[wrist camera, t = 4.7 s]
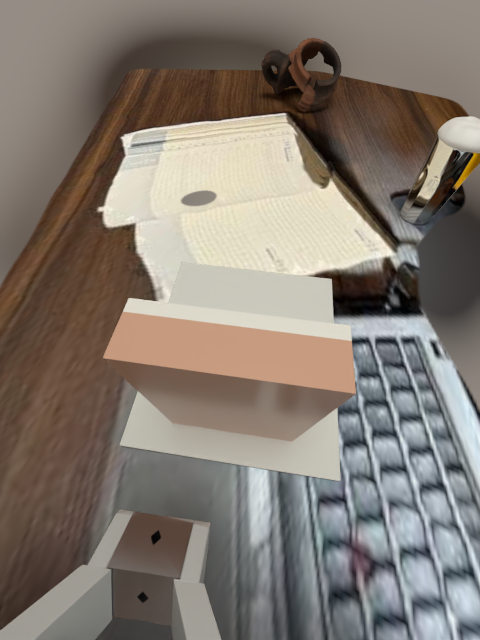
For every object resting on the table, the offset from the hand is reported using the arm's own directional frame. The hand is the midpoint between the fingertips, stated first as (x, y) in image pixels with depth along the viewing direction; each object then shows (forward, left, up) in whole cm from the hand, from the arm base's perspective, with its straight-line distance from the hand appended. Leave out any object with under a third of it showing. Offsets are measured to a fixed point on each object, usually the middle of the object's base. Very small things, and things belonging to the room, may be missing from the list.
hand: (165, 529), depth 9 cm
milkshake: (+30, -18, -9) cm, 36 cm away
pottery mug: (+57, -4, -9) cm, 58 cm away
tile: (+6, -1, -8) cm, 10 cm away
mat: (+11, -1, -8) cm, 14 cm away
